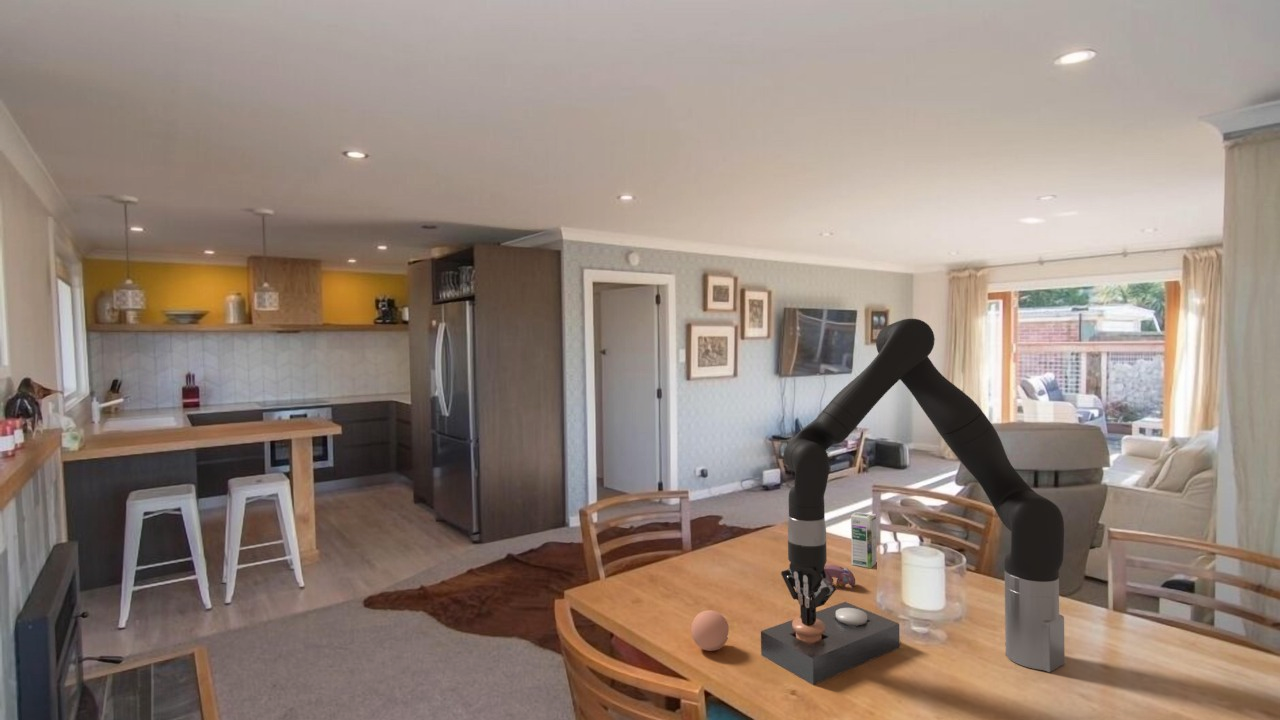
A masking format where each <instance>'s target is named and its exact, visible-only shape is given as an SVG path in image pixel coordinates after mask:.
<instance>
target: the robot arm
mask: <svg viewBox="0 0 1280 720" xmlns="http://www.w3.org/2000/svg"><path fill="white" fill-rule="evenodd" d="M935 340H936V339H935V334H934V331H933V329H932V328H931V326H930V325H929V324H928V323H927V322H925V321H923V320H922V319H918V318H905V319H901V320H898V321H895V322H893V323H891V324H888V325H887V326H885V327H883V328H882V329H881V330H880V331H879V333H878V334H877V336H876V340H875V345H876V350H877V355H876V356H875V358H873V360H872V361H871V362H870V364H868V365H867V366H866V368H865V369H864V370H862V372H860V374H858V375H857V376H856V377H855V378H854V379H853V380H851V381H850V382H849V383H848V384H847V385H846V386H844V387H843V388H842V389H841V390H840V391H839V392H838V393H837V394H836V395H835V396H834V397H833V398H832V399H831V400H830V401H829V403H828V404H827V405H826V406H825V407H824V409H823V410H822V411H821V412H820V413H819V414H818V416H817V417H816V418H815V419H814V420H813V421H812V422H810V423H808V424H807V425H805V427H803V429H801V430H800V431H799V432H797V434H795V435H794V436H793V437H792V438H791V439H790V440H789V441H788V443H787V445H786V446H785V448H784V451H783V460H784V464H785V465H786V466H787V468H789V470H791V471H793V472H794V474H795V475H794V486H793V487H792V488H791V489H790V490H789V493H788V520H787V555H788V557H787V559H788V562H790V563H789V568H788V569H785V570H782V571H781V572H780V573H781V577H782V579H783V581H784V583H785V586H786V587H787V590H788V592H789V593H790V595H791V597H792V599H793V600H796V601H798V602H797V603H798V605H800V607H799V608H800V611H799V612H800V617H801V620H802V623H803V624H805V625H807V626H810V625H812V624H814V623H815V622H816V612H817V608H819V607H823V606H825V604H826V603H827V601H828V600H829V599H830V598H831V597H832V596H833V594H835V592H836V591H837V589H836V586H835V584H832V585H830V584H829V583H828V581H827V580H826V573H825V570H824V566H826V565H827V564H826V563H827V526H826V519H825V517H826V516H825V493H826V490H827V485H828V480H829V473H830V459H829V455H828V452H827V450H828V449H829V448H830V447H831V446H833V445H837V444H840V443H841V444H842V443H843V442H844V441H846V439H847V438H848V437H849V436H850V435H851V434H852V433H853V432H854V430H855V428H857V427H858V425H859V424H860V423H861V422H862V421H863V420H864V418H866V416H867V415H868V414H869V412H871V410H872V409H873V408H874V406H876V404H878V403H879V401H880V400H881V399H882V398H883V397H884V396H885V395H886V394H887V392H888V391H889V390H890V389H892V387H893V386H895V385H896V383H898V382H899V381H901V382H902V383H903V385H905V387H906V388H907V390H909V392H910V393H911V395H912V396H913V397H914V399H915V400H916V402H917V403H918V405H919V406H920V408H921V409H922V411H923V412H924V414H925V415H926V416H927V418H928V419H929V420H930V421H931V423H932V425H933V426H934V428H935V430H936V431H937V432H938V434H939V435H940V436H941V438H942V439H943V441H944V442H945V443H946V445H947V446H948V448H949V449H950V450H951V451H952V453H953V454H954V455H955V456H956V457H957V459H958V460H959V461H960V463H962V465H963V466H964V467H965V469H966V470H967V471H968V472H969V473H970V474H971V475H972V476H973V477H974V478H975V480H976V481H977V482H978V484H979V485H980V487H981V488H982V490H983V491H984V494H985V495H986V496H987V498H988V499H989V501H990V503H991V505H992V507H993V509H994V511H995V512H996V514H997V515H998V517H999V519H1000V521H1001V522H1002V524H1003V525H1004V526H1005V527H1006V529H1007V530H1010V532H1011V535H1010V536H1011V537H1010V538H1011V540H1010V541H1011V544H1010V552H1009V553H1008V554H1006V555H1005V557H1004V625H1005V628H1004V629H1005V630H1004V631H1005V636H1004V637H1005V642H1004V645H1005V656H1006V657H1007V658H1008V659H1009V660H1010V661H1011V662H1013V663H1016V664H1018V665H1020V666H1023V667H1025V668H1030V669H1034V670H1040V671H1045V672H1047V673H1052V672H1053V671H1055V670H1057V669H1059V668H1060V667H1062V666H1064V665H1065V662H1066V661H1065V655H1066V654H1065V653H1066V652H1065V616H1064V615H1063V614H1060V578H1059V577H1060V570H1061V567H1062V565H1063V561H1064V551H1065V550H1064V547H1065V545H1064V543H1065V521H1064V516H1063V514H1062V512H1061V509H1060V508H1059V506H1058V505H1056V503H1054V502H1053V501H1051V500H1050V499H1047V498H1046V497H1044V496H1043V495H1040V494H1038V493H1037V492H1036V491H1034V489H1032V488H1031V487H1030V486H1029V484H1027V482H1026V481H1025V480H1024V479H1023V478H1022V476H1021V475H1020V474H1019V473H1018V472H1017V471H1016V469H1015V467H1014V466H1013V465H1012V464H1011V462H1010V460H1009V458H1008V455H1007V452H1006V450H1005V448H1004V445H1003V443H1002V439H1001V438H1000V436H999V434H998V432H997V430H996V428H995V427H994V426H993V424H992V422H991V421H990V420H989V419H988V416H987V415H986V414H985V413H984V412H983V410H982V409H981V408H980V406H979V405H978V404H977V403H976V402H975V401H974V400H973V399H972V398H971V397H970V396H968V395H967V394H966V393H965V392H964V391H963V390H961V389H960V388H959V387H957V386H956V385H955V384H954V383H952V382H951V381H949V380H948V379H947V378H946V377H945V376H944V375H943V374H941V372H940V371H939V370H938V369H937V368H936V366H935V364H934V363H933V362H932V361H931V359H930V358H929V355H930V354H931V352H932V351H933V349H934V346H935Z"/></svg>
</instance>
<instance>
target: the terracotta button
mask: <svg viewBox="0 0 1280 720" xmlns="http://www.w3.org/2000/svg"><path fill="white" fill-rule="evenodd" d="M792 620H793V621H792V628H793V630H794V631H795V632H796V638H798V639H800V640H802V641H804V642H806V643H808V644H812V643H815V642H817V641H820V640H822V634H823V633H824V632H825V624H824V622H822V621H821V620H819V619H816V622H815V623H814V624H812V625H810V626H807V625H805V624H803V623H802V620H801V616H800V617H796V618H795V619H792Z"/></svg>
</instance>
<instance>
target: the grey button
mask: <svg viewBox="0 0 1280 720" xmlns="http://www.w3.org/2000/svg"><path fill="white" fill-rule="evenodd" d="M836 619H837V620H838V621H840V622H842V623H844V624H846V625H849V626H851V627H853V628H854V627H856V626H859V625H862V624H865V623H866V622H867V614H866V613H865V612H864V611H861V610H859V609H855V608H841V609H838V610H836Z"/></svg>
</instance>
